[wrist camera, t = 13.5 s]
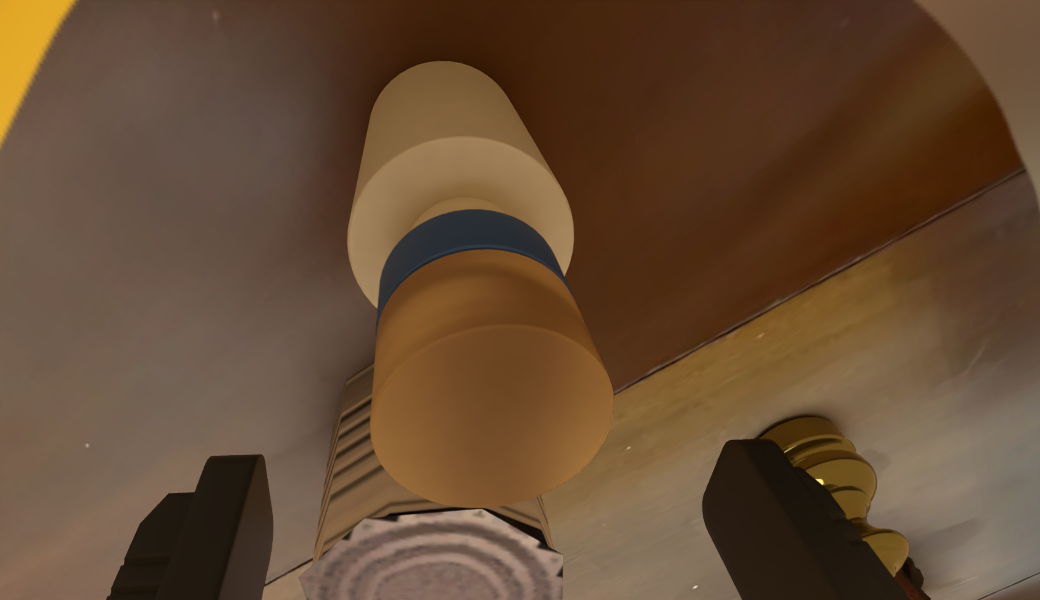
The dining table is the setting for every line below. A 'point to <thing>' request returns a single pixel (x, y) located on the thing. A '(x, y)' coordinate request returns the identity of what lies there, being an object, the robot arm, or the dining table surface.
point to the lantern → (911, 580)
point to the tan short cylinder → (486, 382)
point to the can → (417, 531)
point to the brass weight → (840, 479)
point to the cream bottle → (450, 181)
